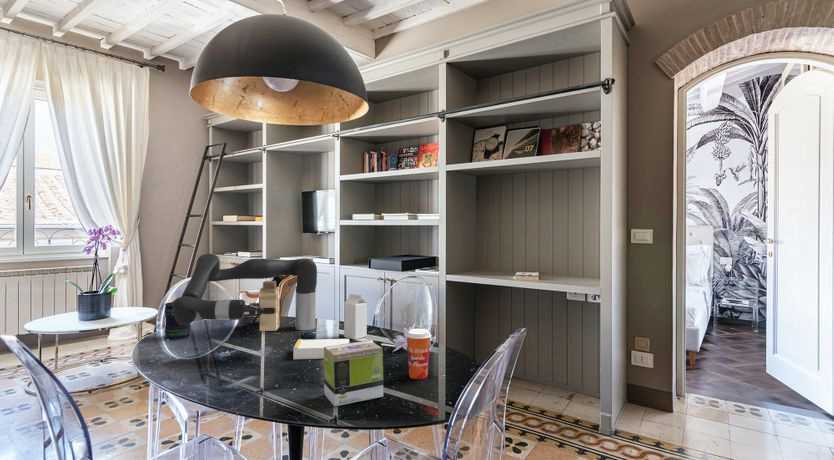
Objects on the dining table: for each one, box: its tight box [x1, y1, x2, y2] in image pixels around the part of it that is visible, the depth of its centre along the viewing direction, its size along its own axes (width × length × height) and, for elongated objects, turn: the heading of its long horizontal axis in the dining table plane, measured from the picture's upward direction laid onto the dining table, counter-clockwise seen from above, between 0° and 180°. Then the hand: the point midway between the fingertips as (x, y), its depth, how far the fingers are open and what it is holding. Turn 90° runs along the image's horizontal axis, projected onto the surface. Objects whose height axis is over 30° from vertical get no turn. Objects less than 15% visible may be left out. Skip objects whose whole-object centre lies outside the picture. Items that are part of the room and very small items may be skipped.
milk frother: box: [248, 295, 282, 329], centre depth 216 cm, size 14×16×15 cm
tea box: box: [323, 340, 384, 407], centre depth 129 cm, size 15×10×15 cm
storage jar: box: [164, 301, 191, 341], centre depth 192 cm, size 10×10×15 cm
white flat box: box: [292, 338, 350, 360], centre depth 170 cm, size 12×20×4 cm, turn 97°
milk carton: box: [343, 293, 368, 340], centre depth 195 cm, size 7×7×19 cm
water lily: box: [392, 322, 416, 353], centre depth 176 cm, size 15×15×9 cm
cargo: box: [262, 280, 277, 289], centre depth 167 cm, size 4×4×4 cm
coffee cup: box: [406, 328, 432, 380], centre depth 146 cm, size 8×8×15 cm
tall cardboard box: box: [259, 286, 280, 332], centre depth 168 cm, size 6×6×16 cm
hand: (276, 308), depth 168 cm, fingers closed on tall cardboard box, 6 cm apart
